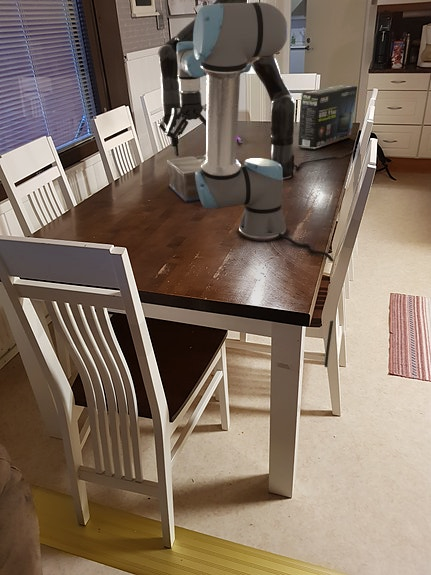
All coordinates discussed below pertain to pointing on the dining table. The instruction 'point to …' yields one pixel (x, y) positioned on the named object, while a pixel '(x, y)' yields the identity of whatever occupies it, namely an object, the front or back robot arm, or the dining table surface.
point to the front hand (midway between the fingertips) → (193, 152)
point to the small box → (184, 177)
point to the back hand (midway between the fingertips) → (174, 145)
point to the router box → (326, 115)
